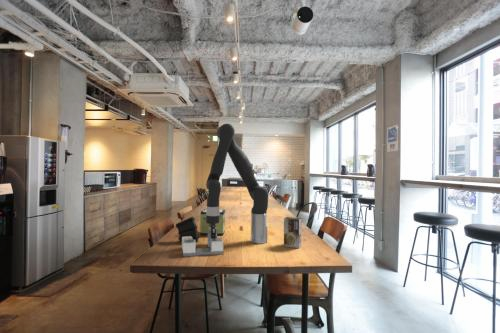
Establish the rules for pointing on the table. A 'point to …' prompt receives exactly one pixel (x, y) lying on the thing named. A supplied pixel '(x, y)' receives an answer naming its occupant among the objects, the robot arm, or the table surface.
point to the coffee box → (292, 232)
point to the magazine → (187, 229)
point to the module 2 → (210, 238)
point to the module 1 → (186, 239)
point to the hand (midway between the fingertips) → (212, 244)
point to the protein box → (219, 226)
